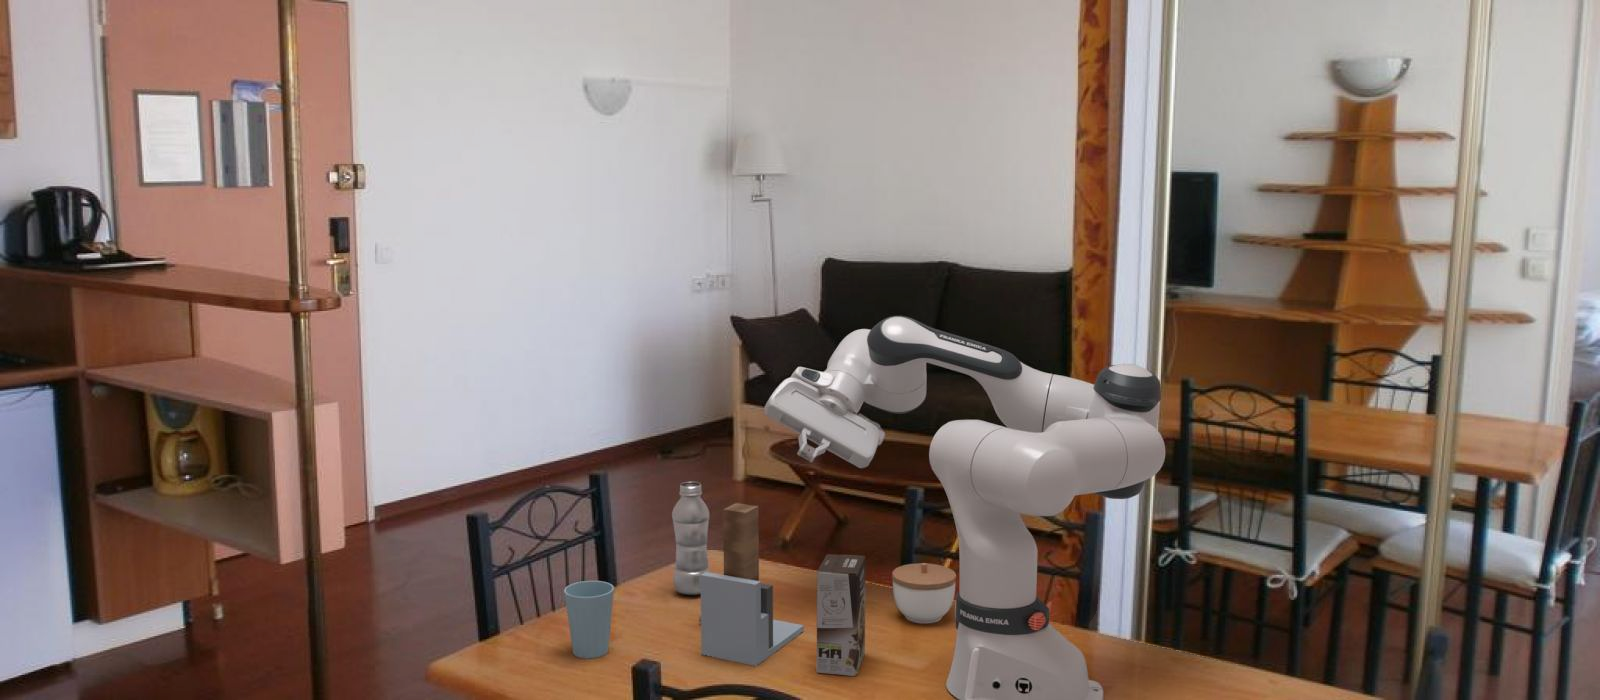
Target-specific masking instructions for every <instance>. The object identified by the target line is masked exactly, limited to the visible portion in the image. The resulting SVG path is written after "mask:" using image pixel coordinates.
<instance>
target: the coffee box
mask: <svg viewBox="0 0 1600 700" xmlns="http://www.w3.org/2000/svg"><path fill="white" fill-rule="evenodd" d="M866 557H867V556H866V555H857V554H829V553H827V554H826V555H825V557H824V558H823V561H821V564H819V565H820V566H819V567H818V570H817V571H816V573H817V575H816V577H817V579H816V664H815V665H816V670H815V671H816V673H817V674H818V673H819V674H829V675H839V676H849V677H855V676H857V674H858V671H859V669H860V666H861V665H862V662H863V659H864V656H865V654H866V559H867V558H866Z"/></svg>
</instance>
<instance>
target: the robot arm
mask: <svg viewBox="0 0 1600 700" xmlns="http://www.w3.org/2000/svg"><path fill="white" fill-rule="evenodd" d="M927 363H928V364H931V365H934V366H938V367H942V368H944V369H949V370H951V371H955V372H957V373H961V374H965V375H967V376H970V377H971V378H972V379H974V380H976V381H977V382H978V383H979V385H981V387H982V388H983V390H984V391H985V393H987V396H988V398H989V400H990V402H991V405H992V406H993V409H994V411H995V414H996V415H997V417H998V418H999V420H1000V421H1001V422H1002V423H1003V425H1005V426H1003V425H998V424H995V423H992V422H988V421H985V420H981V419H956V420H951V421H948V422H947V423H945V424H943V425H942V426H940V428H939V429H938V430H937V431H936V433H935V434H934V436H933V437H932V440H931V442H930V446H929V451H928V456H929V457H928V459H929V465H930V467H931V470H932V471H933V473H934V475H935V476H936V478H938V480H939V481H940V483H941V485H942V487H943V489H944V491H945V493H946V496H947V499H948V503H949V505H950V509H951V513H952V515H953V516H952V517H953V519H954V525H955V528H956V533H957V539H958V549H959V550H958V551H959V554H958V555H959V557H958V558H959V584H958V586H959V589H958V590H959V591H957V592H956V597H955V598H956V599H955V605H954V606H955V608H954V620H955V629H956V637H955V638H956V639H955V647H954V652H953V659H952V662H951V665H950V670H949V673H948V676H947V679H946V683H945V686H946V689H947V690H948V692H949V693H950V695H953V697H955V698H956V699H958V700H1104V697H1105V696H1104V689H1103V687H1102V685H1101V684H1100V683H1099V682H1098V681H1096V680H1093V679H1092V680H1091V679H1089V674H1088V668H1087V661H1086V658H1085V656H1084V653H1083V652H1082V651H1081V650H1080V649H1079V648H1078V647H1077V646H1076V645H1075V644H1073V643H1072V642H1071V641H1069V639H1067V638H1066V637H1065V636H1064V635H1062V634H1061V633H1060V632H1059V631H1058V630H1056V628H1055V627H1054V626H1052V625H1051V624H1050V612H1051V610H1052V601H1049V602H1048V603H1047V604H1045V603H1044V601H1043V600H1041V599H1040V597H1039V596H1038V595H1037V583H1038V582H1037V580H1038V579H1037V578H1038V577H1037V576H1038V575H1037V574H1038V546H1037V543H1036V540H1035V538H1034V536H1033V535H1032V533H1031V532H1030V531H1029V529H1028V528H1027V527H1026V524H1025V522H1024V521H1023V519H1022V516H1021V515H1027V516H1036V517H1037V516H1038V517H1052V516H1056V515H1058V514H1060V513H1061V512H1063V511H1065V510H1066V509H1067V508H1068V506H1069V505H1070V504H1071V503H1072V502H1073V499H1074V498H1075V496H1079V495H1087V494H1094V495H1097V496H1100V497H1102V498H1107V499H1110V500H1125V499H1126V500H1127V499H1131V498H1134V497H1135V496H1137V495H1140V493H1141V491H1142V489H1143V488H1144V485H1145V482H1146V480H1147V481H1148V480H1150V479H1151V478H1153V477H1154V476H1156V474H1158V472H1159V471H1160V470H1161V468H1162V467H1163V465H1164V463H1165V458H1166V446H1165V442H1164V439H1163V437H1162V435H1161V433H1160V431H1159V430H1158V425H1159V411H1160V402H1161V400H1162V387H1161V381H1160V379H1159V378H1158V376H1157V375H1156V374H1155V372H1152V371H1150V370H1149V369H1146V368H1144V367H1142V366H1139V365H1137V364H1132V363H1120V364H1110V365H1107V366H1105V367H1104V368H1102V369H1101V370H1100V371H1099V373H1098V375H1097V377H1096V379H1095V382H1094V383H1090V382H1088V381H1084V380H1081V379H1077V378H1074V377H1069V376H1065V375H1060V374H1059V375H1058V374H1056V373H1055V374H1053V373H1048V372H1044V371H1041V370H1039V369H1035V368H1033V367H1031V366H1029V365H1027V364H1025V363H1023V362H1022V361H1020V359H1018V357H1016V356H1015V355H1014V354H1013V353H1011V352H1009V351H1007V350H1005V349H1002V348H999V347H996V346H993V345H991V344H986V343H983V342H980V341H977V340H974V339H970V338H966V337H963V336H961V335H957V334H953V333H950V332H946V331H943V330H940V329H936V328H933V327H931V326H928V325H927V324H925V323H923V322H920V321H919V320H916V319H914V318H911V317H909V316H905V315H904V316H903V315H893V316H888V317H886V318H884V319H883V320H881V321H879V322H878V323H877V324H876V325H874V326H873V327H872V328H871V329H868V328H861V329H857V330H856V329H855V330H854V331H852V332H850V333H849V334H847V335H846V336H844V338H843V339H842V340H841V341H840V342H839V344H838V346H837V347H836V349H834V351H833V353H832V355H831V356H830V358H829V360H828V361H827V366H826V367H827V368H826V369H825V370H824V371H820V370H816V369H811V368H807V367H803V366H798V367H797V368H796V369H795V370H794V371H793V372H792V374H791V376H790V377H788V378H785V379H784V380H782V382H780V383H779V385H778V386H777V387H776V388H775V389H774V391H773V392H772V394H771V395H770V397H769V398H768V400H767V401H766V403H765V405H764V408H763V411H764V415H765V417H766V416H767V417H768V418H769V419H771V420H773V421H775V422H776V423H778V424H780V425H782V426H784V427H785V428H788V429H789V430H791V431H792V432H795V433H796V434H798V435H799V436H798V439H797V440H798V445H799V446H798V447H799V449H798V451H797V453H796V455H798V456H799V457H801V458H803V459H805V460H807V461H808V462H810V463H813V462H814V460H815V458H816V457H819V456H821V455H822V454H825V452H827V451H828V452H830V453H833V454H834V455H836V456H837V457H839V458H841V459H843V460H844V461H846V462H848V463H850V464H852V465H853V466H855V467H856V468H859V469H864V468H867V467H869V465H870V463H871V461H872V460H873V458H874V457H875V454H876V452H877V448H878V446H881V445H882V444H883V441H884V439H885V437H886V433H885V430H884V429H883V428H882V427H881V425H880V424H879V423H878V422H877V421H873V420H872V419H870V418H868V417H867V416H865V415H864V414H862V413H860V410H861V407H862V405H863V403H865V404H867V405H869V406H871V407H874V408H876V409H879V410H882V411H884V412H888V413H892V414H906V413H909V412H912V411H914V410H916V409H917V408H919V407H920V406H921V405H922V404H923V403H924V401H926V398H927V379H928V378H927V377H928V376H927ZM807 440H809V441H811V442H813V443H814V444H816V445H817V446H818V447H816V448H814V447H813V446H811V445H809V444H808V442H807Z"/></svg>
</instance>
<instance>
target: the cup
mask: <svg viewBox="0 0 1600 700" xmlns="http://www.w3.org/2000/svg"><path fill="white" fill-rule="evenodd" d="M614 590H615V586H614V585H613V584H611V583H610V582H606V581H601V580H583V581H578V582H573V583H571V584H569V585H567V586H566V587H565V588H564V589H563V594H564V601H565V604H566V605H565V606H566V607H565V608H566V612H567V613H566V614H567V620H568V627H569V632H570V633H569V634H570V641H571V648H572V655H574V656H575V657H577V658H579V659H596V658H601V657H603V656H605V655H607V654H608V653H609V649H610V648H609V646H610V635H611V625H612V624H611V623H612V614H613V613H612V612H613V601H614V593H615V592H614Z"/></svg>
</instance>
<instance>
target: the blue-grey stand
mask: <svg viewBox="0 0 1600 700" xmlns="http://www.w3.org/2000/svg"><path fill="white" fill-rule="evenodd" d="M700 577H701V594H700V616H701V622H700V628H701V629H700V634H701V635H700V636H701V637H700V639H701V640H700V641H701V649H700V650H701V651H700V652H701V653H700V654H701V655H702V654H703V656H705V655H707V657H710V656H712V657H711V658H715V657H716V659H721V660H724V659H725V660H726V661H729V662H735V663H740V664H744V665H749V666H754V667H757V666H758V664H759V665H760V664H761V663H763V662H764V661H765V660H766V659H768V658H770V657H771V656H772V655H773V654H775V653H776V652H777V650H778V651H779V650H780V649H782V648H783V647H784V646H786V645H787V644H789V643H790V642H791V641H793V640H794V639H795V638H797V637H798V636H800V635H801V634H802V633H803V632H804V631H805V629H804V628H805V626H804V625H803V624H798V623H793V622H788V621H783V620H777V619H774V584H769V583H762V581H760V580H759V581H755V580H749V579H743V578H738V577H732V576H726V575H724V574H720V573H714V572H710V573H709V572H705V573H703V574H701V575H700ZM801 632H802V633H801ZM800 633H801V634H800ZM793 638H794V639H793ZM781 647H782V648H781ZM725 660H724V661H725ZM762 661H763V662H762Z"/></svg>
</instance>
